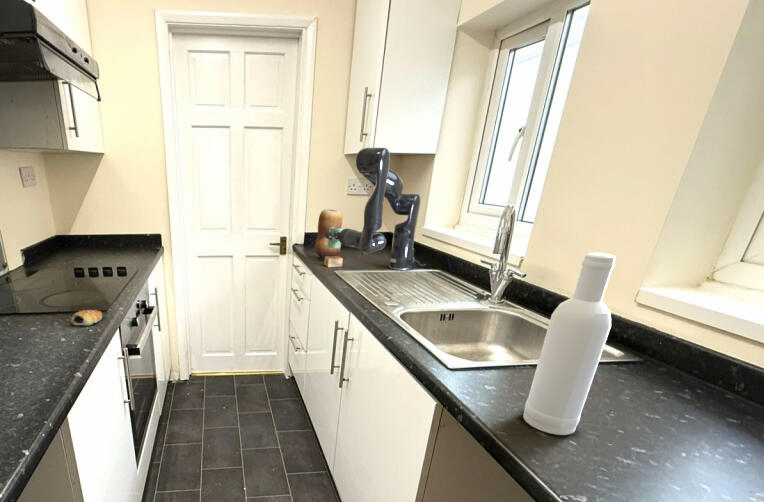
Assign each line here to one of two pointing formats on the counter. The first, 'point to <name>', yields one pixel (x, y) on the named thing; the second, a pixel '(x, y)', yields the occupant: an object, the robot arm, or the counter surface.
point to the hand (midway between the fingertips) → (332, 233)
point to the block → (333, 261)
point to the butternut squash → (325, 221)
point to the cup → (332, 242)
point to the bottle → (571, 351)
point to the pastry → (86, 317)
